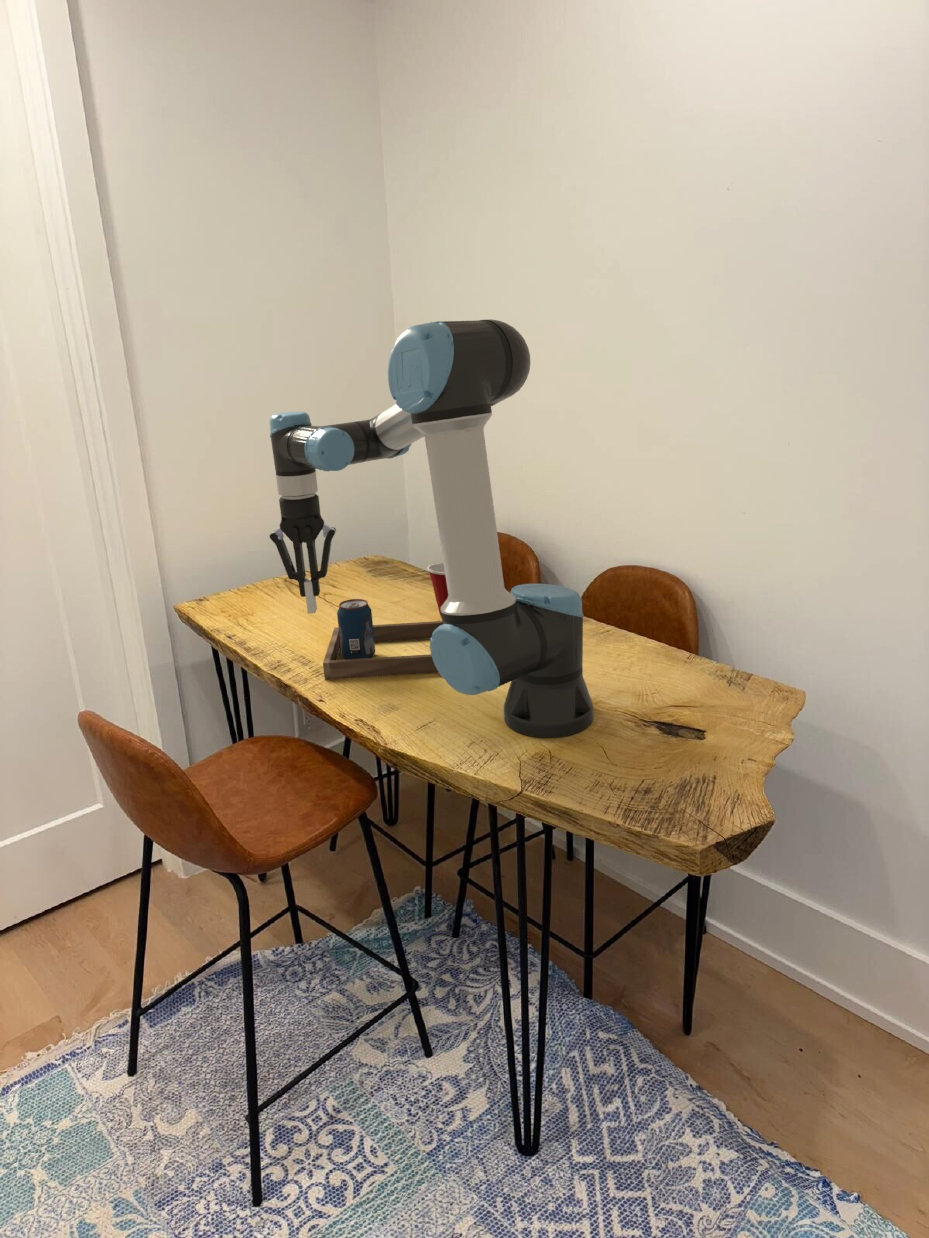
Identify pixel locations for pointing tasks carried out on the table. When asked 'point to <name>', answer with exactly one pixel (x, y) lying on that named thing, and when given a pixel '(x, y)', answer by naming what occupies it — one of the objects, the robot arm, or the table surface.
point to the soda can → (356, 629)
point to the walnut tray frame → (382, 664)
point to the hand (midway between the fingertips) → (312, 611)
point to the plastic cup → (439, 583)
